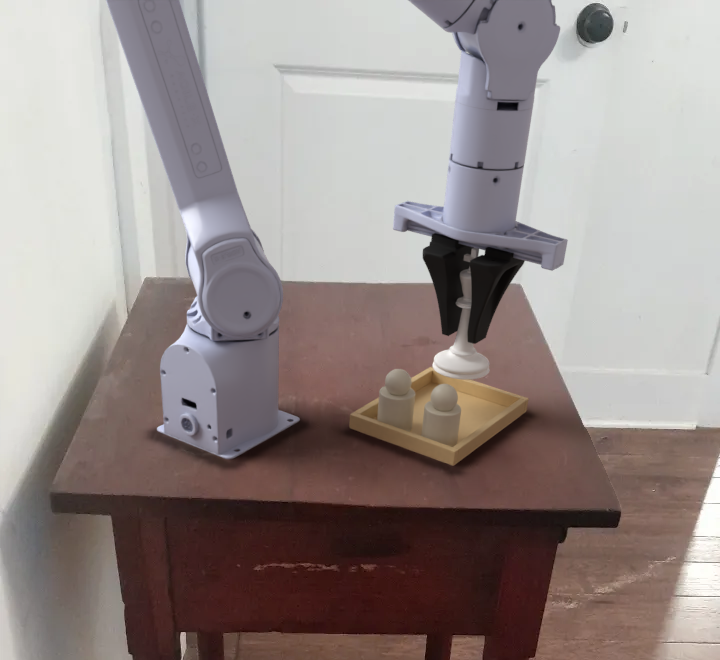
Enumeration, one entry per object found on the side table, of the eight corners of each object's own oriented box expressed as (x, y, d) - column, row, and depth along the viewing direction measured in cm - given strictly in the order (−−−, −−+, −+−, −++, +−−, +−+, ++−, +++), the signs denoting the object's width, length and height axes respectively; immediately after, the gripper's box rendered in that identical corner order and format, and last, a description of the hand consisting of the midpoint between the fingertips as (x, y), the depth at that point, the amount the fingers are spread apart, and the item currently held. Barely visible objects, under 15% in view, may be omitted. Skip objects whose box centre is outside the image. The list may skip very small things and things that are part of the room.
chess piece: (470, 385, 82) (485, 262, 76) (421, 368, 84) (432, 248, 78) (499, 367, 85) (517, 249, 79) (452, 352, 88) (465, 235, 81)
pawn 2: (445, 454, 80) (452, 396, 77) (414, 443, 82) (420, 385, 78) (463, 441, 82) (471, 384, 79) (432, 431, 84) (439, 374, 80)
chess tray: (452, 470, 79) (455, 451, 78) (348, 432, 83) (349, 414, 82) (525, 415, 88) (529, 398, 87) (428, 383, 92) (430, 366, 91)
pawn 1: (399, 438, 82) (405, 380, 79) (369, 427, 83) (374, 370, 80) (418, 426, 84) (424, 369, 81) (389, 415, 85) (393, 359, 82)
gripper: (596, 170, 74) (562, 344, 83) (431, 136, 80) (415, 302, 89) (556, 187, 70) (524, 370, 78) (384, 149, 75) (372, 323, 84)
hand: (464, 335), depth 83 cm, fingers closed on chess piece
